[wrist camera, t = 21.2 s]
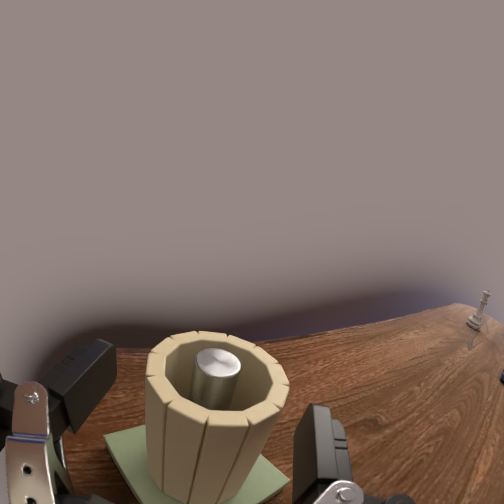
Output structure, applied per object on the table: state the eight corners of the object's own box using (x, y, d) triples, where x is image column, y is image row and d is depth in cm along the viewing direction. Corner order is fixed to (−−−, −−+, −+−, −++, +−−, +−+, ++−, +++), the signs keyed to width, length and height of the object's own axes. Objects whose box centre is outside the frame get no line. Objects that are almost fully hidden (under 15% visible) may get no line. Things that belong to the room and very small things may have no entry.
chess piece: (482, 330, 51) (498, 293, 48) (473, 330, 50) (490, 292, 48) (472, 322, 55) (487, 287, 53) (463, 321, 55) (479, 285, 52)
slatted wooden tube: (184, 520, 10) (199, 449, 7) (131, 446, 14) (125, 342, 11) (263, 478, 14) (315, 389, 12) (207, 420, 18) (230, 322, 16)
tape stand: (175, 549, 8) (186, 491, 5) (105, 445, 14) (86, 319, 11) (284, 488, 14) (355, 384, 12) (207, 413, 20) (233, 299, 18)
